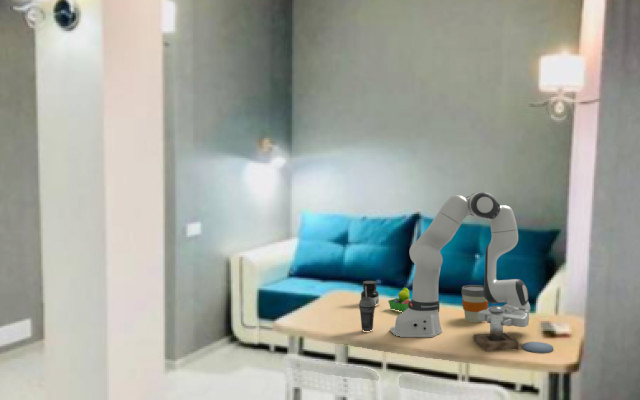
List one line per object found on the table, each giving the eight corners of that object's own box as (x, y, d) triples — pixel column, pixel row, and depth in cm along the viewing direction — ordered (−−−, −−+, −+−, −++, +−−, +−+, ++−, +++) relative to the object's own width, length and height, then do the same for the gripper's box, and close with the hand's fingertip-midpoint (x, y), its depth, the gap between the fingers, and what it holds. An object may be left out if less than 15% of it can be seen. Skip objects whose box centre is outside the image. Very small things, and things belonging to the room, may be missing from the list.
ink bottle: (373, 308, 352) (373, 284, 350) (357, 306, 356) (357, 283, 355) (382, 304, 360) (381, 281, 359) (366, 302, 364) (366, 279, 363)
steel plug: (492, 343, 286) (492, 309, 284) (486, 339, 291) (486, 306, 290) (506, 342, 286) (506, 308, 285) (500, 338, 292) (500, 305, 291)
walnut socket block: (485, 351, 282) (485, 344, 281) (473, 341, 295) (473, 334, 295) (518, 349, 284) (518, 342, 283) (504, 339, 297) (504, 332, 297)
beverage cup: (363, 334, 307) (363, 289, 305) (356, 330, 314) (355, 286, 312) (378, 332, 310) (378, 287, 308) (370, 328, 317) (370, 284, 315)
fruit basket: (387, 310, 347) (387, 288, 346) (399, 307, 353) (399, 285, 352) (405, 315, 339) (405, 291, 338) (416, 311, 345) (416, 288, 344)
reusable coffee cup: (479, 315, 336) (480, 284, 335) (494, 321, 325) (494, 289, 323) (456, 317, 333) (456, 286, 331) (470, 324, 321) (470, 291, 319)
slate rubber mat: (530, 353, 278) (530, 351, 278) (517, 344, 290) (517, 342, 290) (558, 351, 279) (558, 350, 279) (544, 343, 291) (544, 341, 291)
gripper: (485, 304, 304) (471, 311, 293) (532, 310, 292) (519, 318, 281) (485, 318, 305) (471, 325, 294) (532, 325, 293) (519, 333, 282)
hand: (495, 322), depth 287 cm, fingers closed on steel plug, 5 cm apart
